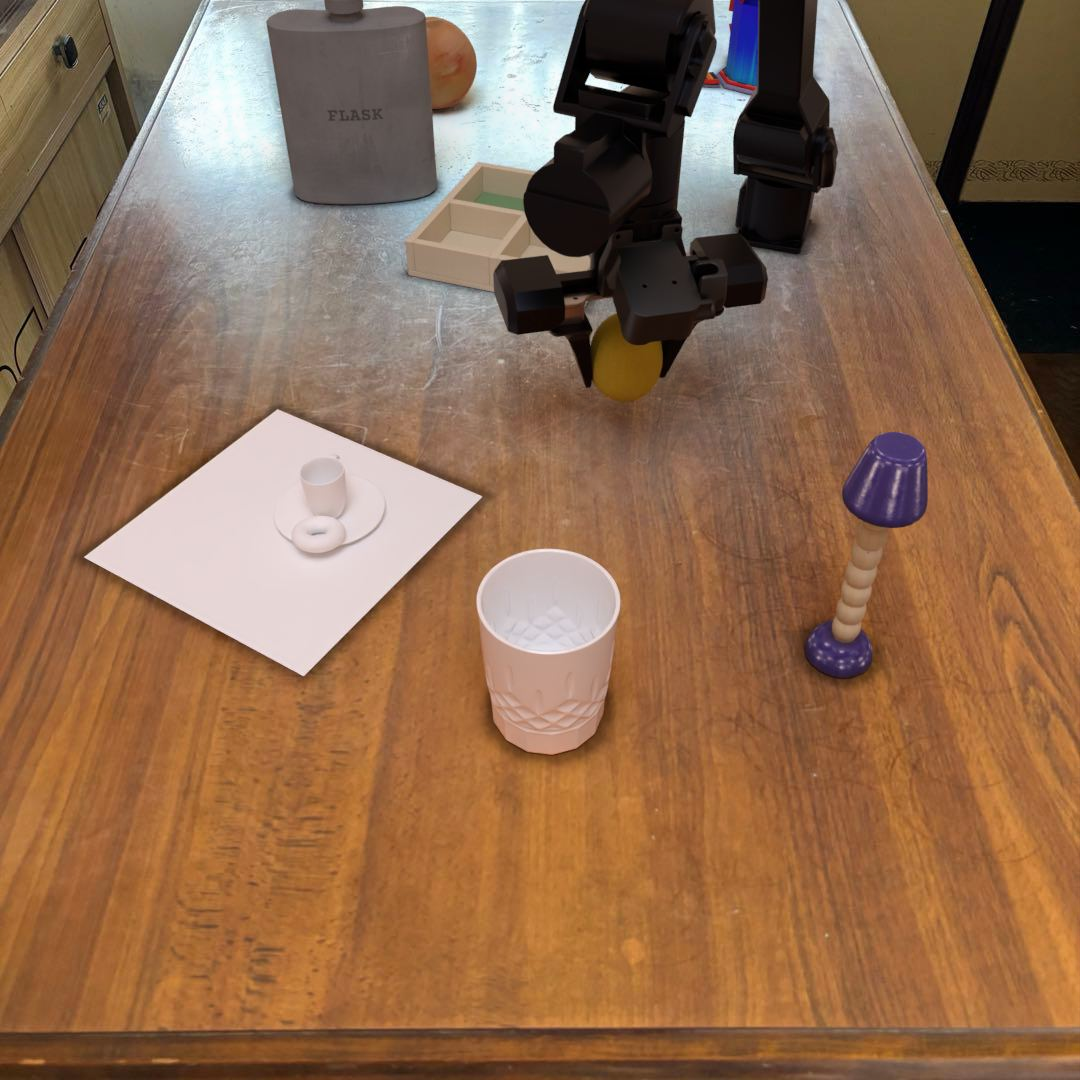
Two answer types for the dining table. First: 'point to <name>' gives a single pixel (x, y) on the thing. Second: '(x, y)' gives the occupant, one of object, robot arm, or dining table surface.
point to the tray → (480, 231)
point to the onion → (449, 62)
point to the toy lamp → (870, 544)
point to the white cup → (548, 646)
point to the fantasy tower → (740, 50)
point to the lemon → (623, 363)
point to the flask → (355, 102)
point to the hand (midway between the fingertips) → (623, 379)
